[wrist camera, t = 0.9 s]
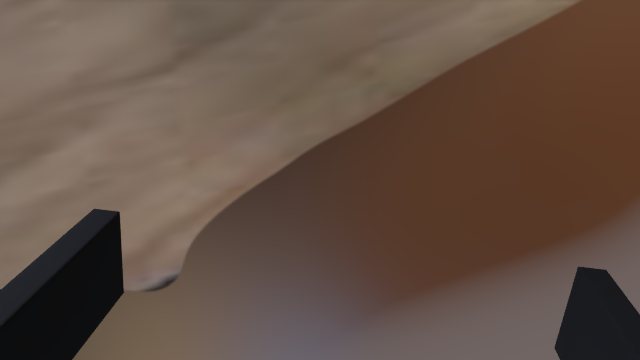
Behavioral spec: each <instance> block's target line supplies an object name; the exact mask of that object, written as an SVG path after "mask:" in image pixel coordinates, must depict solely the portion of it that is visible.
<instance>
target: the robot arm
mask: <svg viewBox="0 0 640 360" xmlns="http://www.w3.org/2000/svg"><path fill="white" fill-rule="evenodd" d="M123 293H124V288H123V269H122V249H121V229H120V212H117V211H108V210H100V209H93V210H92V211H91V212H90V213H89V214H88V215H86V216H85V217H84V218H83V219H82V220H81V221H80V222H78V223H77V224H76V225H75V226H74V227H73V228H71V229H70V230H69V231H68V232H67V233H66V234H65V235H63V236H62V237H61V238H60V239H59V240H58V241H56V242H55V243H54V244H53V245H52V246H51V247H50V248H48V249H47V250H46V251H45V252H44V253H43V254H42V255H40V256H39V257H38V258H37V259H36V260H35V261H33V262H32V263H31V264H30V265H29V266H28V267H27V268H25V269H24V270H23V271H22V272H21V273H20V274H18V275H17V276H16V277H15V278H14V279H13V280H12V281H10V282H9V283H8V284H7V285H6V286H5V287H4V288H2V289H0V360H72V359H73V358H74V357H75V355H76V354H77V353H78V351H79V350H80V349H81V347H82V346H83V345H84V344H85V342H86V341H87V340H88V338H89V337H90V336H91V334H92V333H93V332H94V331H95V329H96V328H97V327H98V325H99V324H100V323H101V321H102V320H103V319H104V318H105V316H106V315H107V314H108V312H109V311H110V310H111V308H112V307H113V306H114V304H115V303H116V302H117V301H118V299H119V298H120V297H121V295H122V294H123ZM555 350H556V352H557V354H558V356H559V358H560V360H640V315H639V313H638V312H637V311H636V309H635V308H634V307H633V305H632V304H631V303H630V301H629V300H628V299H627V297H626V296H625V294H624V293H623V292H622V290H621V289H620V288H619V286H618V285H617V284H616V282H615V281H614V280H613V278H612V277H611V276H610V274H608V272H607V271H606V270H601V269H593V268H584V267H578V269H577V272H576V276H575V279H574V282H573V286H572V290H571V293H570V296H569V300H568V303H567V307H566V310H565V313H564V317H563V321H562V324H561V327H560V331H559V334H558V338H557V341H556V344H555Z"/></svg>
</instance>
